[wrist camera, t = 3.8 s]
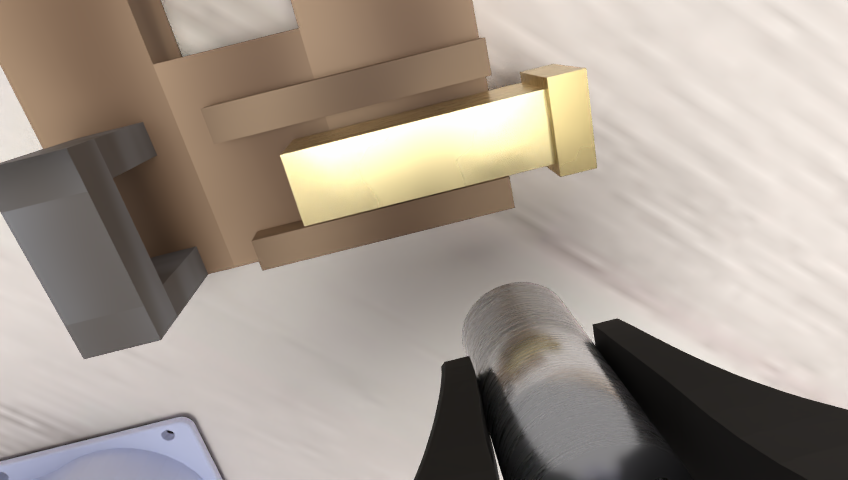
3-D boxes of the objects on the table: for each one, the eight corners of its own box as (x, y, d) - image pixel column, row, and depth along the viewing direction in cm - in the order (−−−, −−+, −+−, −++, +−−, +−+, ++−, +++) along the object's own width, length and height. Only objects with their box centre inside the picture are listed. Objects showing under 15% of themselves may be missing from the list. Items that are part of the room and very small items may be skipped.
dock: (149, 265, 19) (45, 368, 13) (-28, -109, 15) (-306, -212, 9) (491, 180, 19) (545, 244, 13) (416, -219, 15) (445, -400, 9)
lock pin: (316, 210, 16) (306, 240, 14) (289, 129, 15) (274, 145, 13) (564, 149, 16) (597, 167, 14) (552, 64, 15) (586, 68, 13)
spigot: (473, 388, 15) (533, 597, 9) (452, 297, 14) (506, 470, 8) (575, 363, 15) (698, 557, 9) (562, 270, 14) (693, 425, 8)
